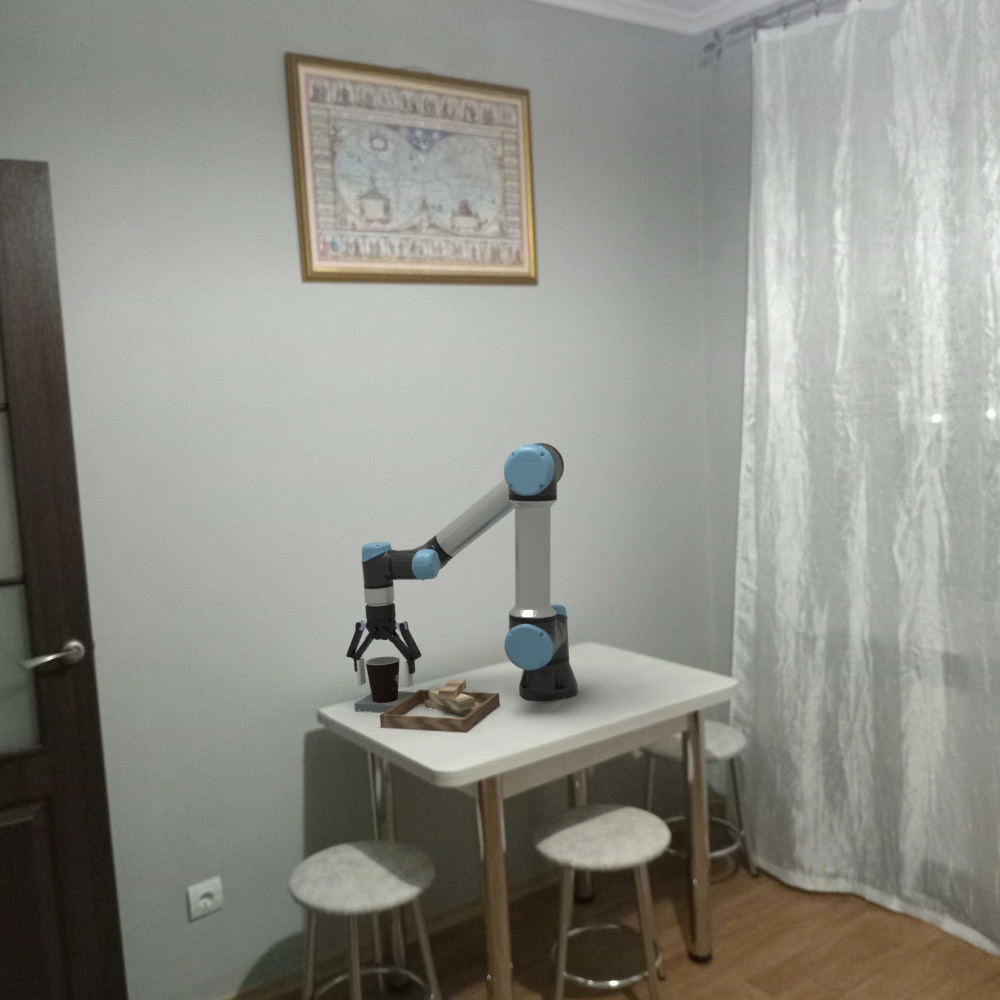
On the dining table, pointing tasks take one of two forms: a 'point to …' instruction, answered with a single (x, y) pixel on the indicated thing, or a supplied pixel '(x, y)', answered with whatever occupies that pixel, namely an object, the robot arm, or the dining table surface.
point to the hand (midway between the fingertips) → (385, 685)
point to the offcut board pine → (453, 701)
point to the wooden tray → (399, 720)
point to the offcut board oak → (440, 707)
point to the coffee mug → (383, 678)
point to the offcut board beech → (452, 689)
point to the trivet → (369, 705)
